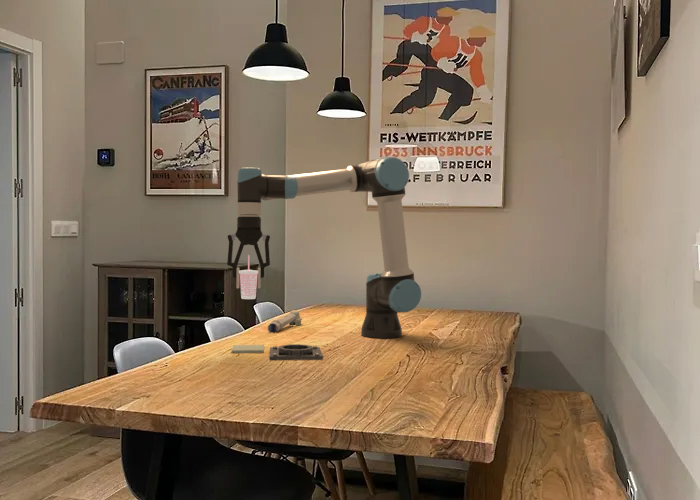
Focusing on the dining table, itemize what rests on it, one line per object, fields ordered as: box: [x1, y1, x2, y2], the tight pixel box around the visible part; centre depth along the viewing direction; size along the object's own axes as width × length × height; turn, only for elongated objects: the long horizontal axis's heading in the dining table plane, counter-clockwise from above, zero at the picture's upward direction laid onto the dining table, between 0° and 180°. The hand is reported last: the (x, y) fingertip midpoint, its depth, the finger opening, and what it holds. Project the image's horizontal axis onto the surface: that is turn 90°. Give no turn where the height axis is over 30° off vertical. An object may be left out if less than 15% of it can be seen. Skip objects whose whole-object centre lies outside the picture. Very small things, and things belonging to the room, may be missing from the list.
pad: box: [231, 344, 265, 354], centre depth 224 cm, size 10×10×1 cm
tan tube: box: [267, 309, 303, 333], centre depth 274 cm, size 5×7×25 cm
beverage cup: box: [239, 254, 258, 300], centre depth 224 cm, size 6×6×14 cm
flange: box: [269, 343, 324, 361], centre depth 217 cm, size 16×16×2 cm
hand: (248, 287), depth 224 cm, fingers closed on beverage cup, 6 cm apart
